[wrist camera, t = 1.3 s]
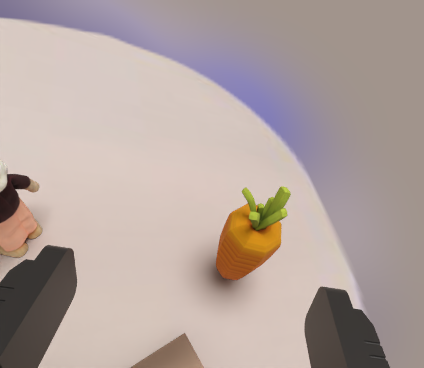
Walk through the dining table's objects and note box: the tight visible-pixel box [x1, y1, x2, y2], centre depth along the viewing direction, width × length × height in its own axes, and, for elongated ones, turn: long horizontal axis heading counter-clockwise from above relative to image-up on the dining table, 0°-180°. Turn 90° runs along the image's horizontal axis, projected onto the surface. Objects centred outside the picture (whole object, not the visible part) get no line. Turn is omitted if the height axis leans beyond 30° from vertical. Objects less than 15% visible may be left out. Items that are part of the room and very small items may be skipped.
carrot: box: [216, 187, 291, 280], centre depth 30 cm, size 5×5×15 cm
